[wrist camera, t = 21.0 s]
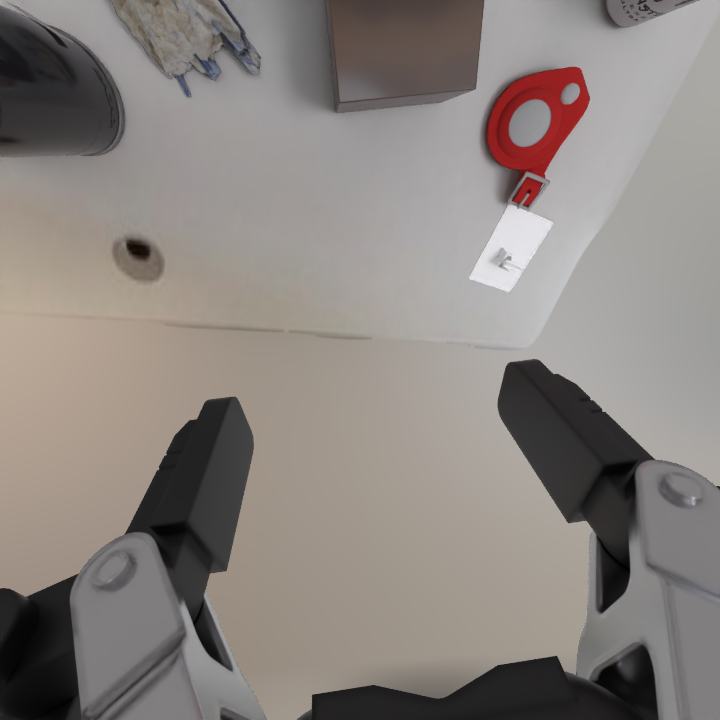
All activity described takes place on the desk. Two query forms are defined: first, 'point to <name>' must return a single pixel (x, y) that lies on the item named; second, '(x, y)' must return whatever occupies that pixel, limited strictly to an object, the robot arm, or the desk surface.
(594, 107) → the desk surface
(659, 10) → the energy drink can
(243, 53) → the mineral specimen
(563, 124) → the tracker holder
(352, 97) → the stand
